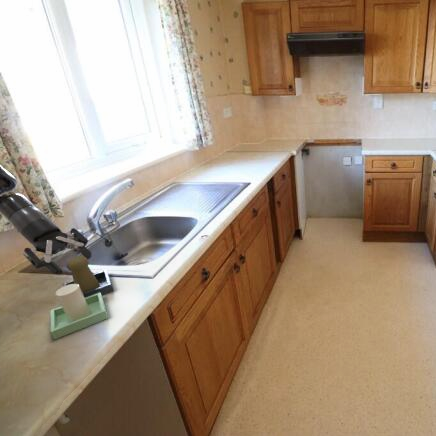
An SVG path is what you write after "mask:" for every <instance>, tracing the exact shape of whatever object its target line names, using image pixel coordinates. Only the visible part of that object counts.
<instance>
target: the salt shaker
mask: <svg viewBox="0 0 436 436" xmlns="http://www.w3.org/2000/svg"><path fill="white" fill-rule="evenodd" d="M55 296H56V298H57V300H58V302H59V304H60V307H61V306H62V308H63V310H64V312H65V314H66V316H67V318H68V320H69V322H74V321H76V320H79V319H81V318H84V317H87V316H89V315H90V314H91V311H90V308H89V306H88V304H87V302H86V300H85V297H84V295H83V293H82V291H81V288H80V286H79V285H78V284H69V285H66V286H64V287H63V286H62V287H60V288H59V289H57V290H56V291H55Z"/></svg>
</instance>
